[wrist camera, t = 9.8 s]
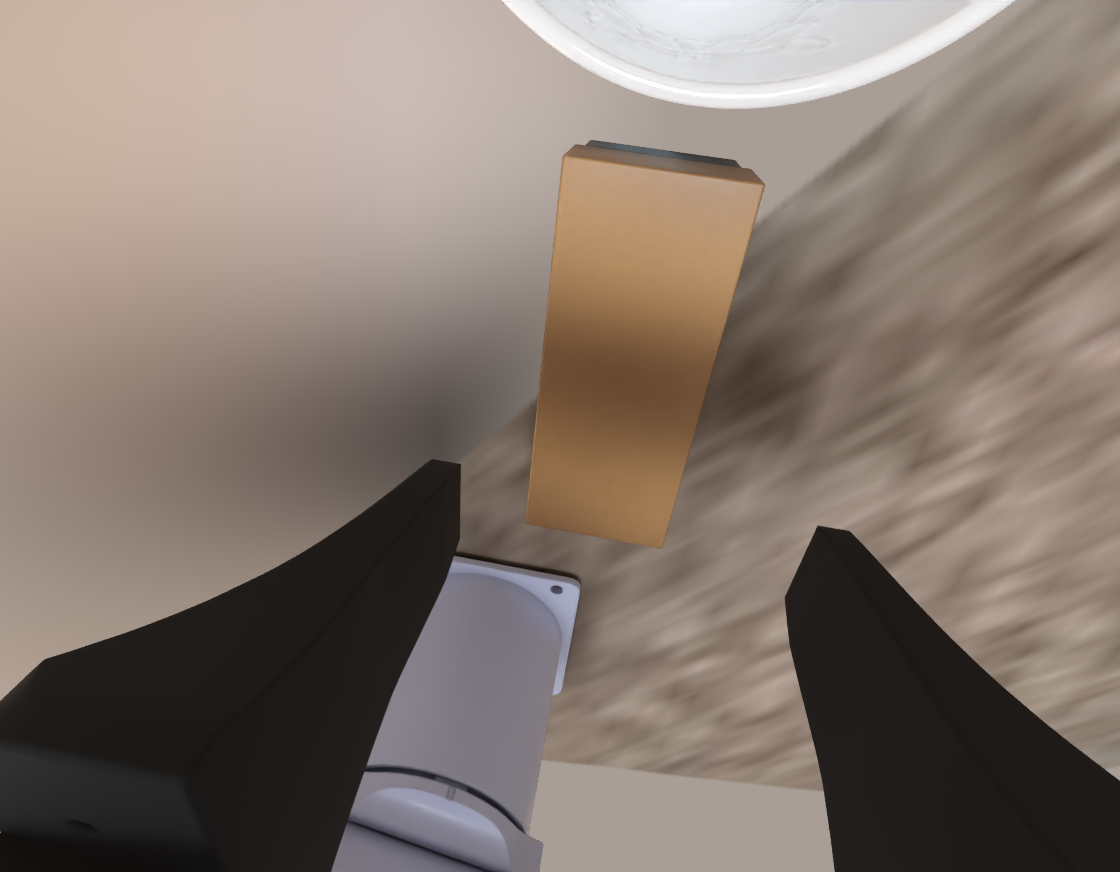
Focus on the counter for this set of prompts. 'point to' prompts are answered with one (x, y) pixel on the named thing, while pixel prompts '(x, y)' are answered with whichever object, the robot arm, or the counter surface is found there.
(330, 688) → the robot arm
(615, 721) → the counter surface
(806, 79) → the white cup
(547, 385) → the scrub brush
